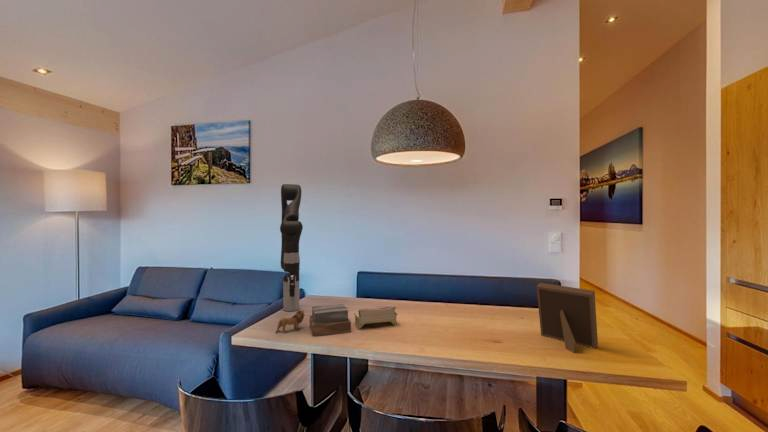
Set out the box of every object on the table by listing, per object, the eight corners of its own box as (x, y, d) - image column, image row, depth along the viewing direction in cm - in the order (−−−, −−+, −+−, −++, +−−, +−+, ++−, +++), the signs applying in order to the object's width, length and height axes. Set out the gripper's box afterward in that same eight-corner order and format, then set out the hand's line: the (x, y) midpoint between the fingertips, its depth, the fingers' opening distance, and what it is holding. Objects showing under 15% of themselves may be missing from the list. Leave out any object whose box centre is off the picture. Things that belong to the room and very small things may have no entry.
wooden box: (309, 325, 166) (309, 305, 166) (344, 321, 171) (344, 302, 171) (312, 336, 151) (312, 315, 150) (350, 332, 156) (350, 311, 156)
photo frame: (544, 332, 154) (544, 280, 154) (597, 346, 139) (598, 288, 138) (532, 341, 144) (532, 286, 144) (588, 357, 129) (588, 294, 128)
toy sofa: (392, 320, 173) (392, 301, 173) (397, 326, 165) (397, 306, 165) (353, 324, 167) (353, 305, 167) (357, 330, 159) (357, 309, 159)
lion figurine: (301, 325, 165) (301, 308, 165) (306, 328, 161) (306, 310, 161) (273, 332, 156) (273, 314, 156) (277, 335, 152) (277, 316, 152)
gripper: (283, 260, 165) (283, 291, 165) (283, 264, 151) (283, 298, 151) (298, 259, 167) (298, 290, 167) (300, 263, 153) (300, 297, 153)
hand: (291, 294), depth 159 cm, fingers open, 8 cm apart
